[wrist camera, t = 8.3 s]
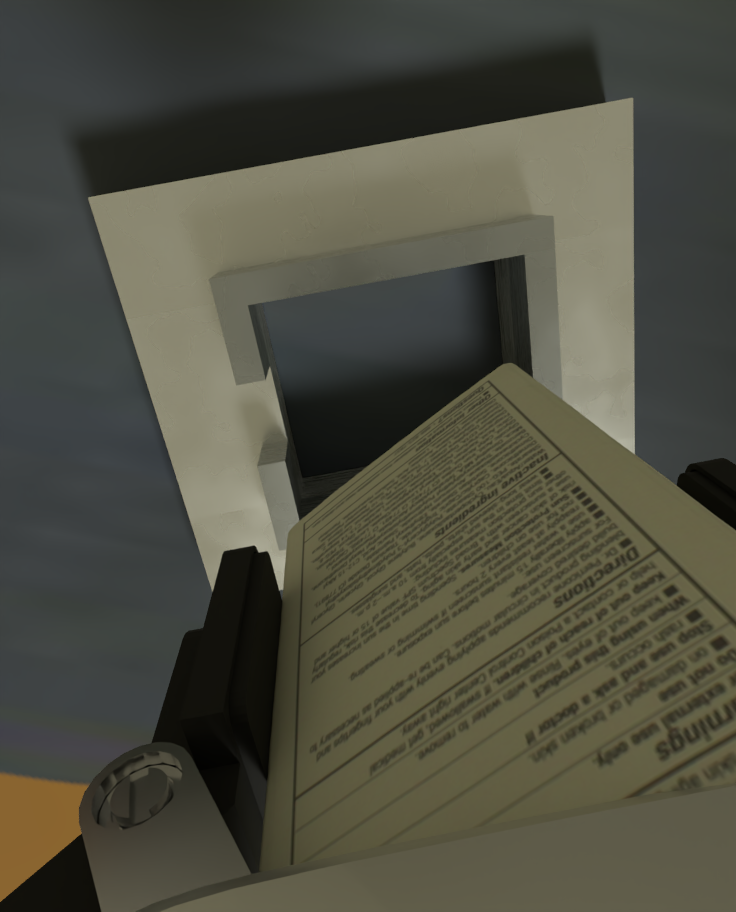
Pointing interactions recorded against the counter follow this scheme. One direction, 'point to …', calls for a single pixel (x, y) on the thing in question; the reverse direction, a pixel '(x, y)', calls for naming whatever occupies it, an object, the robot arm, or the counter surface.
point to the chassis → (360, 262)
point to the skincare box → (496, 633)
